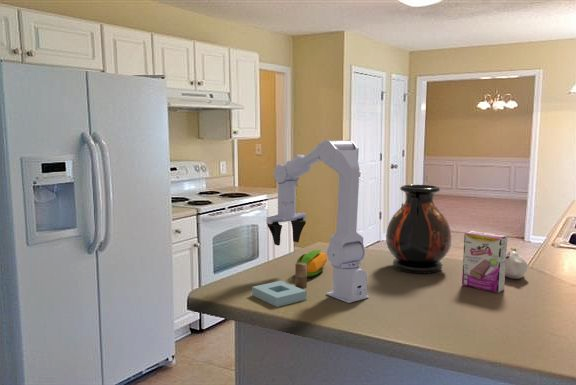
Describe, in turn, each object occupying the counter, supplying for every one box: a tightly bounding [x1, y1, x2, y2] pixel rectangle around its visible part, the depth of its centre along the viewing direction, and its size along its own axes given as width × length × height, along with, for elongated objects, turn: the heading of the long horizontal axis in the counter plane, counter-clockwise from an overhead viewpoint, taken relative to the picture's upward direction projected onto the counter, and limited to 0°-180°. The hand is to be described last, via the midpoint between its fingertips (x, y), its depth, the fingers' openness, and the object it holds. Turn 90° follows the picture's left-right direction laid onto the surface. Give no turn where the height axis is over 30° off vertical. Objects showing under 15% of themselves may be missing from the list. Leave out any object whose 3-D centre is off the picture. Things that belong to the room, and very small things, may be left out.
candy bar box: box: [461, 230, 508, 294], centre depth 150 cm, size 11×5×16 cm, turn 47°
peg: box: [294, 262, 308, 290], centre depth 151 cm, size 3×3×7 cm
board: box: [251, 280, 307, 308], centre depth 142 cm, size 12×10×2 cm
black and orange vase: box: [385, 184, 452, 274], centre depth 171 cm, size 22×22×28 cm
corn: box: [296, 249, 328, 278], centre depth 167 cm, size 7×8×20 cm
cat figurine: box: [505, 247, 529, 280], centre depth 162 cm, size 10×8×15 cm
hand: (286, 243), depth 165 cm, fingers open, 7 cm apart
